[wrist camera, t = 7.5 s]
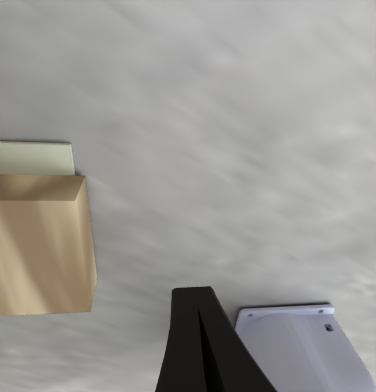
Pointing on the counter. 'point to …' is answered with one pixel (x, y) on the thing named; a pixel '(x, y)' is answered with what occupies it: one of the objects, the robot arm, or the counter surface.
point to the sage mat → (36, 158)
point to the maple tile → (45, 245)
